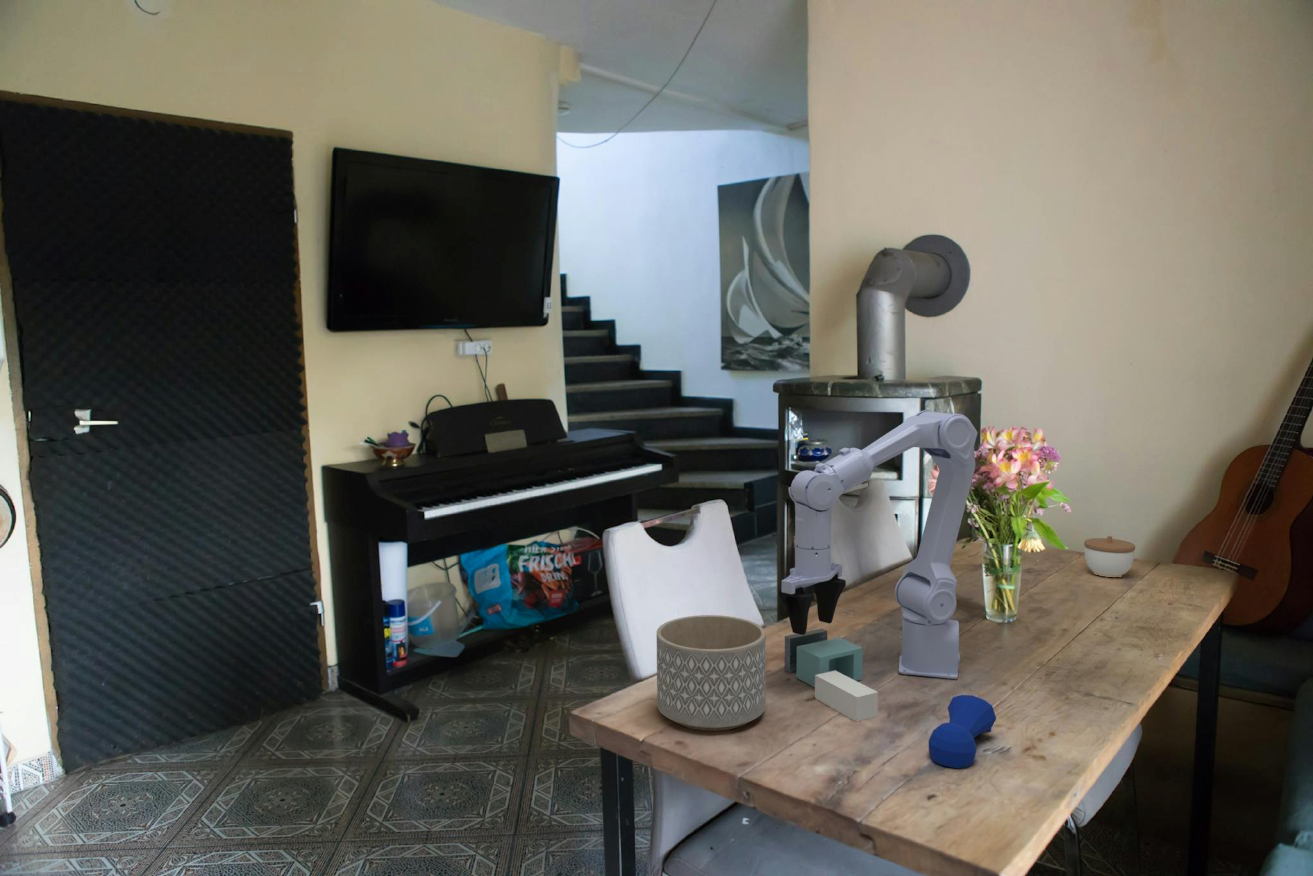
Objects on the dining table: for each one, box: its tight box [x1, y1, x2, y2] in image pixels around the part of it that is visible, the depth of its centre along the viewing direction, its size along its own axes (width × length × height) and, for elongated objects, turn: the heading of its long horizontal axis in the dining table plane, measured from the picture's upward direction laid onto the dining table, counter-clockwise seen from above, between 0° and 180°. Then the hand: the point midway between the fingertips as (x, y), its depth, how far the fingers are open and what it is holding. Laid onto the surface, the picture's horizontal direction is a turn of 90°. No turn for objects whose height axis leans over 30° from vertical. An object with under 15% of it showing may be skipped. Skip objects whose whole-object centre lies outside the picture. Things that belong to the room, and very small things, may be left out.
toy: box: [928, 694, 997, 769], centre depth 123 cm, size 7×6×15 cm
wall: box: [784, 628, 828, 674], centre depth 153 cm, size 2×8×6 cm, turn 118°
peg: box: [814, 671, 879, 723], centre depth 137 cm, size 10×4×4 cm, turn 28°
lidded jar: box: [1083, 535, 1136, 575], centre depth 210 cm, size 11×11×9 cm
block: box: [796, 637, 864, 688], centre depth 148 cm, size 6×9×5 cm, turn 118°
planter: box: [656, 614, 767, 732], centre depth 135 cm, size 16×16×13 cm
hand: (812, 627), depth 144 cm, fingers open, 7 cm apart
